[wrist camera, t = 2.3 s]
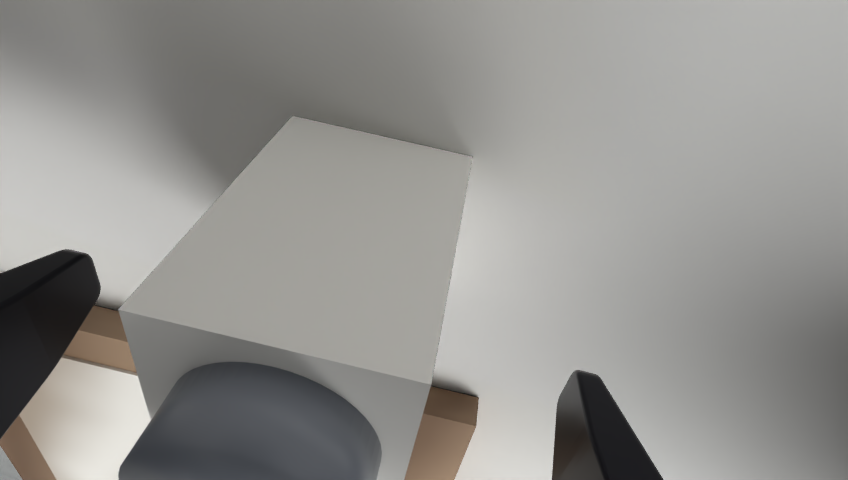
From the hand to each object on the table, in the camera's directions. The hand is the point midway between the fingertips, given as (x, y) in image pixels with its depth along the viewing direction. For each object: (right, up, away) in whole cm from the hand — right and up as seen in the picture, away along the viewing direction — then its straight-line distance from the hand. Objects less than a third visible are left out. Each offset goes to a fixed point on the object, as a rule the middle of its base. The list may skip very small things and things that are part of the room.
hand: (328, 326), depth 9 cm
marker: (0, +2, +3) cm, 4 cm away
